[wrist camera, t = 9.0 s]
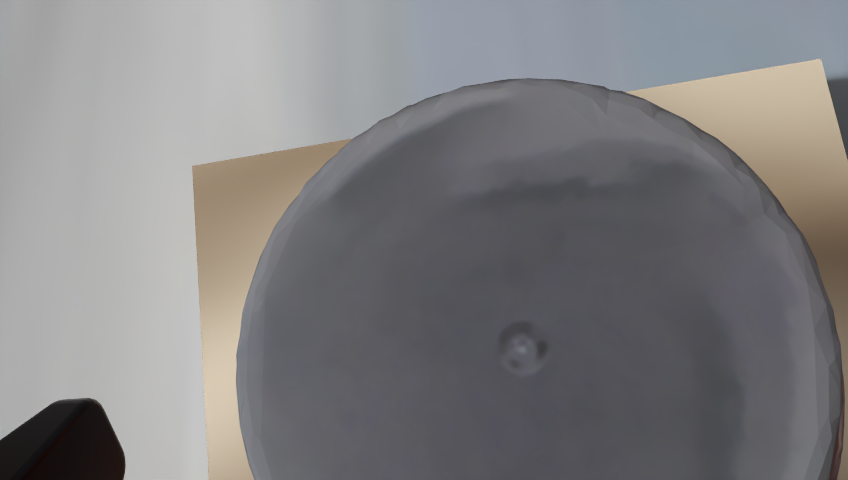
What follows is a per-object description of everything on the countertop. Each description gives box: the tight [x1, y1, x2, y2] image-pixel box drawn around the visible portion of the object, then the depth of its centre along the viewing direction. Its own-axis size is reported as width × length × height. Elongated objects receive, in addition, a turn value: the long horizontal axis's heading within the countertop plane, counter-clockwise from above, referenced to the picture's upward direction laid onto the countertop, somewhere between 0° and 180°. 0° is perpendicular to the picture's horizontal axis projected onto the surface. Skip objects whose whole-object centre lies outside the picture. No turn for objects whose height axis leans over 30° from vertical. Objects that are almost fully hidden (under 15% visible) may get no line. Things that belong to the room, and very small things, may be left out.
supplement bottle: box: [236, 78, 845, 480], centre depth 11 cm, size 6×6×11 cm
